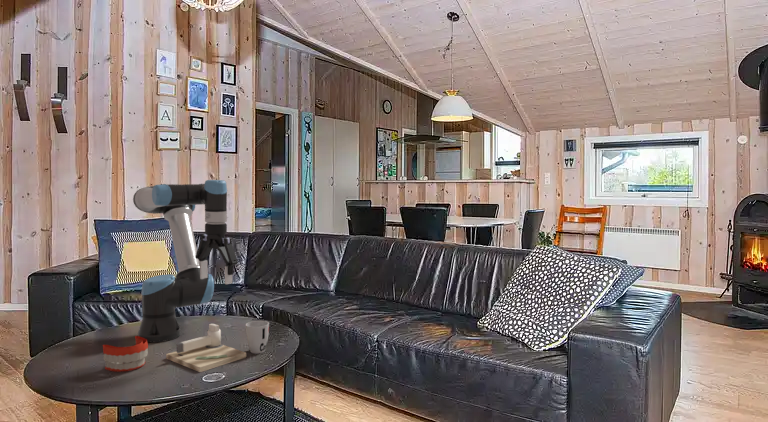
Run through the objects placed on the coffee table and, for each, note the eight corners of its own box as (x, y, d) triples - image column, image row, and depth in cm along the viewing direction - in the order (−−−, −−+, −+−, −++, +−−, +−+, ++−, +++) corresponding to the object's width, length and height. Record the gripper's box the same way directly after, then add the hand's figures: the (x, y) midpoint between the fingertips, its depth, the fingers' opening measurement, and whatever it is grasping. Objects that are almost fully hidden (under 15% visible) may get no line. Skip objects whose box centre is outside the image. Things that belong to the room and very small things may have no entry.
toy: (120, 376, 164) (120, 351, 163) (102, 369, 169) (101, 345, 168) (157, 364, 174) (156, 340, 174) (138, 358, 180) (137, 335, 179)
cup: (263, 355, 183) (263, 327, 182) (241, 354, 185) (241, 326, 184) (272, 348, 191) (272, 321, 190) (252, 346, 193) (251, 319, 192)
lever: (215, 341, 192) (215, 322, 191) (223, 344, 189) (223, 324, 188) (173, 353, 179) (173, 332, 178) (181, 356, 176) (180, 335, 175)
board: (166, 358, 179) (166, 353, 179) (213, 345, 194) (213, 340, 194) (200, 372, 167) (200, 366, 167) (247, 356, 182) (247, 351, 182)
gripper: (185, 220, 193) (185, 277, 194) (231, 226, 179) (231, 287, 181) (202, 219, 199) (202, 274, 201) (247, 224, 185) (247, 284, 187)
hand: (216, 281), depth 191 cm, fingers open, 13 cm apart
